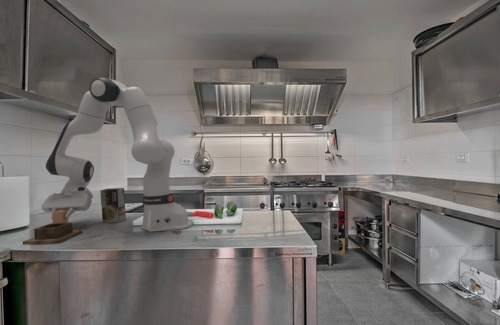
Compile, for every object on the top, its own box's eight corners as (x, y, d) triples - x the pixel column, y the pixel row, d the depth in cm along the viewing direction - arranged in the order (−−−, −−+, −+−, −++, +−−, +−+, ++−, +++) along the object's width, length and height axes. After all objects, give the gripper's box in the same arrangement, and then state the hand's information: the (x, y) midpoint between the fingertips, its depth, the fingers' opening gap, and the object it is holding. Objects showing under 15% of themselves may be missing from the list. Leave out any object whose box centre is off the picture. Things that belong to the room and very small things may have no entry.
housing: (82, 232, 118) (81, 220, 118) (59, 243, 104) (58, 229, 104) (50, 234, 119) (49, 222, 118) (22, 244, 105) (21, 231, 104)
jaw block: (68, 230, 124) (67, 209, 124) (62, 232, 120) (61, 211, 120) (59, 230, 125) (58, 210, 124) (53, 232, 121) (52, 212, 120)
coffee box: (126, 219, 142) (124, 187, 142) (119, 222, 136) (117, 189, 135) (109, 219, 143) (107, 188, 142) (101, 222, 137) (99, 189, 136)
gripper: (47, 189, 129) (31, 215, 120) (90, 188, 129) (78, 213, 119) (54, 197, 134) (40, 223, 124) (96, 196, 133) (85, 221, 124)
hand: (59, 218), depth 122 cm, fingers closed on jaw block, 4 cm apart
